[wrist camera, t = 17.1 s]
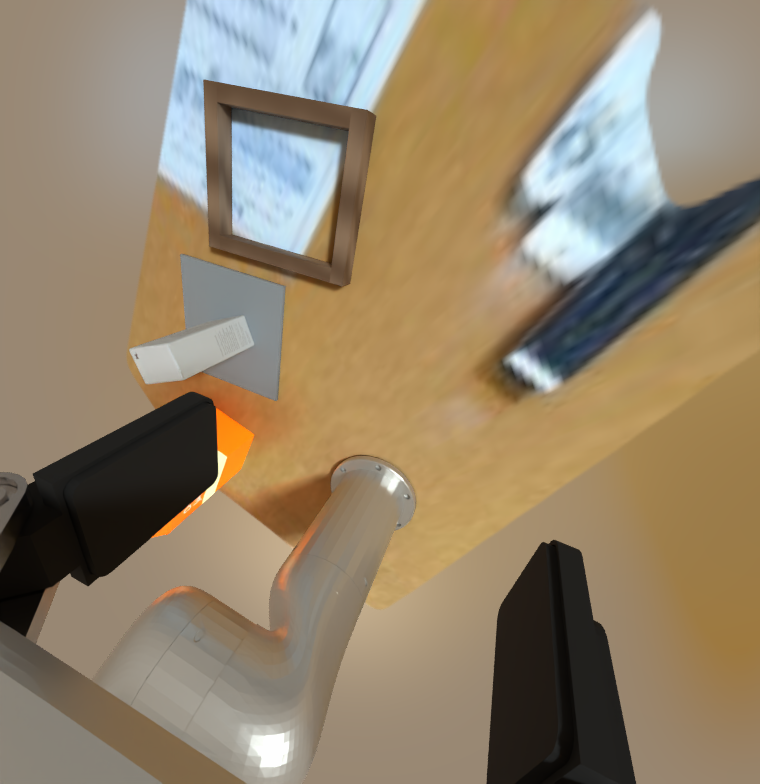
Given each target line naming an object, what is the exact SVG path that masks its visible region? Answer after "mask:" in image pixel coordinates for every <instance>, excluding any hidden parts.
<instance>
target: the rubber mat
mask: <svg viewBox="0 0 760 784" xmlns="http://www.w3.org/2000/svg"><path fill="white" fill-rule="evenodd" d="M180 257H181V270H182V284H183V297H184V311H185V324H186V329H188V328H191V327H194V326H197V325H200V324H203V323H206V322H209V321H214V320H219V319H224V318H230V317H236V316H241V315H244V317H245V319H246V322H247V325H248V328H249V331H250V333H251V336H252V339H253V342H254V346H253V347H250V348H248V349H246V350H244V351H242V352H240V353H238V354H236V355H234V356H232V357H230V358H228V359H226V360H224V361H222V362H220V363H218V364H216V365H214V366H212V367H210V368H208V369H206V370H204V371H201V372H203V373H206V374H208V375H211V376H213V377H216V378H219V379H221V380H224V381H226V382H229V383H231V384H234V385H236V386H239V387H241V388H244V389H247V390H249V391H252V392H254V393H257V394H259V395H262V396H264V397H267V398H269V399H272V400H274V401H277V400H278V389H279V375H280V360H281V345H282V330H283V315H284V301H285V286H283V285H280V284H277V283H273V282H270V281H267V280H264V279H261V278H258V277H254V276H251V275H248V274H245V273H242V272H239V271H235V270H232V269H229V268H226V267H223V266H219V265H216V264H213V263H210V262H207V261H204V260H200V259H197V258H194V257H191V256H188V255H184V254H180Z"/></svg>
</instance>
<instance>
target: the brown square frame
mask: <svg viewBox="0 0 760 784" xmlns="http://www.w3.org/2000/svg"><path fill="white" fill-rule="evenodd" d="M203 82H204V110H205V138H206V166H207V194H208V222H209V246H210V247H214V248H217V249H220V250H224V251H227V252H230V253H234V254H237V255H240V256H243V257H247V258H250V259H253V260H257V261H260V262H263V263H266V264H270V265H273V266H276V267H280V268H283V269H286V270H290V271H293V272H296V273H299V274H303V275H306V276H309V277H313V278H316V279H319V280H323V281H326V282H329V283H332V284H336V285H339V286H345V285H347V284H350V280H351V274H352V268H353V261H354V255H355V248H356V242H357V236H358V229H359V223H360V216H361V210H362V204H363V197H364V191H365V184H366V178H367V172H368V165H369V159H370V152H371V146H372V140H373V133H374V127H375V120H376V115H374V114H373V113H371V112H370V111H368V110H364V109H358V108H353V107H348V106H342V105H337V104H332V103H326V102H321V101H316V100H310V99H305V98H300V97H294V96H289V95H284V94H278V93H273V92H268V91H262V90H257V89H252V88H246V87H241V86H236V85H230V84H225V83H220V82H214V81H209V80H204V79H203ZM231 107H232V108H237V109H242V110H247V111H252V112H257V113H262V114H267V115H271V116H276V117H281V118H286V119H291V120H296V121H301V122H306V123H311V124H316V125H321V126H326V127H331V128H335V129H340V130H345V131H349V134H348V142H347V150H346V158H345V165H344V173H343V181H342V189H341V197H340V205H339V212H338V220H337V228H336V236H335V244H334V251H333V259H332V264H331V263H328V262H324V261H321V260H317V259H314V258H310V257H307V256H304V255H300V254H297V253H293V252H290V251H286V250H283V249H279V248H276V247H273V246H269V245H266V244H262V243H259V242H255V241H252V240H249V239H245V238H242V237H238V236H235V235H232V120H231Z"/></svg>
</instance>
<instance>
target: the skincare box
mask: <svg viewBox="0 0 760 784" xmlns="http://www.w3.org/2000/svg"><path fill="white" fill-rule="evenodd" d="M253 346H254V342H253V339H252V336H251V333H250V331H249V328H248V325H247V322H246V319H245V317H244V315H241V316H236V317H230V318H224V319H219V320H214V321H209V322H206V323H203V324H200V325H197V326H194V327H191V328H188V329H185V330H183V331H180V332H177V333H174V334H171V335H168V336H165V337H162V338H159V339H156V340H153V341H150V342H147V343H144V344H141V345H138V346H136V347H133V348H130V349H129V351H130V353H131V355H132V357H133V359H134V361H135V363H136V365H137V367H138V370H139V372H140V374H141V376H142V378H143V380H144V381H145V383H146V384H155V383H164V382H171V381H181V380H185V379H187V378H189V377H191V376H193V375H195V374H197V373H199V372H201V371H204V370H206V369H208V368H210V367H212V366H214V365H216V364H218V363H220V362H222V361H224V360H226V359H228V358H230V357H232V356H234V355H236V354H238V353H240V352H242V351H244V350H246V349H248V348H250V347H253Z"/></svg>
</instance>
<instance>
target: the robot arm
mask: <svg viewBox="0 0 760 784" xmlns="http://www.w3.org/2000/svg"><path fill="white" fill-rule="evenodd" d="M33 476H34V479H35V481H34V482H32V483H30V484H29V485H28V484H27V482H26V479H25V478H23V477H22V476H20V475H18V474H14V473H10V472H0V784H302V783H303V781H304V779H305V777H306V775H307V773H308V771H309V768H310V766H311V763H312V761H313V758H314V756H315V753H316V750H317V747H318V744H319V740H320V737H321V733H322V729H323V726H324V722H325V718H326V714H327V710H328V706H329V702H330V699H331V695H332V691H333V688H334V684H335V681H336V677H337V674H338V671H339V668H340V665H341V661H342V659H343V656H344V653H345V650H346V648H347V645H348V642H349V640H350V637H351V635H352V632H353V630H354V627H355V625H356V622H357V620H358V617H359V615H360V613H361V610H362V608H363V605H364V603H365V600H366V598H367V596H368V593H369V591H370V588H371V586H372V583H373V581H374V579H375V576H376V574H377V571H378V569H379V566H380V564H381V562H382V559H383V557H384V554H385V552H386V550H387V547H388V545H389V542H390V540H391V537H392V535H393V533H394V531H395V530H398V529H401V528H402V527H404V526H406V525H407V524H408V523H409V522H410V520H411V518H412V516H413V514H414V511H415V508H416V497H415V493H414V490H413V487H412V486H411V484H410V482H409V481H408V479H407V478H406V477H405V476H404V474H403V473H402V472H400V471H399V470H398V469H397V468H396V467H394V466H393V465H391V464H390V463H388V462H386V461H383V460H381V459H379V458H375V457H371V456H354V457H351V458H348V459H346V460H344V461H343V462H342V463H340V464H339V465H338V467H337V468H336V469H335V471H334V473H333V475H332V477H331V491H332V494H331V496H330V497H329V499H328V500H327V502H326V503H325V505H324V506H323V507H322V509H321V510H320V512H319V513H318V515H317V516H316V517H315V519H314V520H313V522H312V523H311V525H310V526H309V528H308V529H307V530H306V532H305V533H304V535H303V536H302V538H301V539H300V541H299V542H298V543H297V545H296V546H295V548H294V549H293V551H292V552H291V554H290V555H289V557H288V558H287V559H286V561H285V562H284V564H283V565H282V566H281V568H280V569H279V571H278V573H277V574H276V577H275V579H274V581H273V584H272V587H271V591H270V599H269V619H270V631H269V630H266V629H265V628H263V627H261V626H259V625H258V624H257V625H256V624H254V623H253V622H251V621H249V620H248V619H247V618H245V617H244V616H242V615H241V614H239V613H238V612H236V611H235V610H233V609H232V608H230V607H229V606H227V605H225V604H224V603H222V602H221V601H219V600H218V599H216V598H215V597H213V596H212V595H210V594H208V593H207V592H205V591H203V590H201V589H198V588H196V587H192V586H179V587H176V588H173V589H171V590H169V591H167V592H166V593H164V594H162V595H161V596H160V597H159V598H157V599H156V600H155V601H154V602H153V603H152V604H151V605H150V606H149V607H147V608H146V610H145V611H144V612H143V613H142V614H141V615H140V616H139V617H138V618H137V620H136V621H135V622H134V623H133V624H132V626H131V627H130V628H129V629H128V631H127V632H126V633H125V634H124V636H123V637H122V638H121V640H120V641H119V642H118V644H117V645H116V647H115V648H114V649H113V651H112V652H111V653H110V655H109V656H108V657H107V659H106V660H105V662H104V663H103V664H102V666H101V667H100V669H99V670H98V671H97V673H96V674H95V676H94V677H93V678H92V680H90V679H88V678H87V677H85V676H84V675H82V674H81V673H79V672H78V671H76V670H75V669H73V668H72V667H70V666H69V665H67V664H65V663H64V662H62V661H61V660H59V659H58V658H56V657H54V656H53V655H52V654H50V653H49V652H47V651H46V650H44V649H43V648H41V647H40V646H38V645H36V642H37V639H38V637H39V634H40V632H41V629H42V627H43V624H44V622H45V619H46V616H47V614H48V611H49V609H50V606H51V603H52V601H53V598H54V596H55V593H56V590H57V588H58V585H59V583H60V581H61V580H62V579H63V578H64V577H66V576H67V575H68V574H69V573H70V574H71V576H72V577H73V578H75V579H76V580H78V581H80V582H81V583H83V584H85V585H87V586H89V585H90V584H92V583H93V582H94V581H95V580H96V579H97V578H99V577H103V576H106V575H108V574H109V573H111V572H112V571H113V570H114V569H115V568H117V567H118V566H119V565H120V564H121V563H122V562H124V561H125V560H126V559H127V558H128V557H129V556H130V555H132V554H133V553H134V552H135V551H136V550H137V549H139V548H140V547H141V546H142V545H143V544H144V543H146V542H147V541H148V540H149V539H150V538H151V537H153V536H154V535H155V534H156V533H157V532H158V531H160V530H161V529H162V528H163V527H164V526H165V525H167V524H168V523H169V522H170V521H171V520H172V519H174V518H175V517H176V516H177V515H178V514H179V513H181V512H182V511H183V510H184V509H185V508H186V507H188V506H189V505H190V504H191V503H192V502H193V501H194V500H196V499H197V498H198V497H199V496H200V495H201V494H203V493H204V492H205V491H206V490H207V489H208V488H210V487H211V486H212V485H213V484H214V483H215V481H216V479H217V477H218V444H217V415H216V407H215V406H214V404H213V401H212V400H211V399H210V398H208V397H205V396H203V395H200V394H198V393H195V392H189V393H186V394H185V395H183V396H181V397H179V398H177V399H175V400H173V401H171V402H169V403H167V404H165V405H163V406H162V407H160V408H158V409H156V410H154V411H152V412H150V413H148V414H146V415H144V416H142V417H141V418H139V419H137V420H135V421H133V422H131V423H129V424H127V425H125V426H123V427H121V428H119V429H117V430H116V431H114V432H112V433H110V434H108V435H106V436H104V437H102V438H100V439H99V440H97V441H95V442H93V443H91V444H89V445H87V446H85V447H83V448H81V449H79V450H77V451H75V452H73V453H72V454H70V455H68V456H66V457H64V458H62V459H60V460H58V461H56V462H54V463H52V464H50V465H48V466H47V467H45V468H43V469H41V470H39V471H37V472H35V473H33ZM494 663H495V664H494V677H493V694H492V709H491V724H490V738H489V739H490V740H489V753H488V769H487V784H636V781H635V776H634V771H633V766H632V760H631V756H630V751H629V745H628V741H627V735H626V730H625V726H624V721H623V715H622V710H621V705H620V700H619V695H618V690H617V685H616V680H615V675H614V670H613V665H612V660H611V655H610V650H609V645H608V640H607V636H606V633H605V630H604V628H603V627H602V625H601V624H600V623H598V622H596V621H594V620H593V615H592V609H591V603H590V598H589V592H588V586H587V580H586V575H585V569H584V563H583V557H582V554H581V552H580V550H578V549H576V548H573V547H571V546H568V545H566V544H563V543H561V542H559V541H556V540H553V541H551V542H550V543H549V544H547V543H545V542H542V543H541V544H540V546H539V547H538V549H537V550H536V552H535V554H534V555H533V556H532V558H531V559H530V561H529V563H528V564H527V566H526V567H525V569H524V570H523V572H522V573H521V575H520V576H519V578H518V579H517V581H516V582H515V584H514V586H513V587H512V589H511V590H510V592H509V593H508V595H507V596H506V598H505V599H504V601H503V602H502V604H501V606H500V609H499V613H498V618H497V631H496V647H495V662H494Z"/></svg>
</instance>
